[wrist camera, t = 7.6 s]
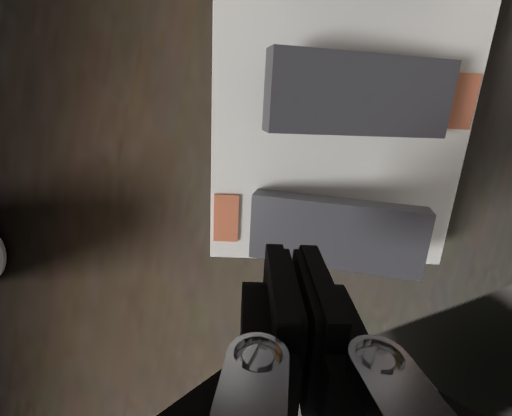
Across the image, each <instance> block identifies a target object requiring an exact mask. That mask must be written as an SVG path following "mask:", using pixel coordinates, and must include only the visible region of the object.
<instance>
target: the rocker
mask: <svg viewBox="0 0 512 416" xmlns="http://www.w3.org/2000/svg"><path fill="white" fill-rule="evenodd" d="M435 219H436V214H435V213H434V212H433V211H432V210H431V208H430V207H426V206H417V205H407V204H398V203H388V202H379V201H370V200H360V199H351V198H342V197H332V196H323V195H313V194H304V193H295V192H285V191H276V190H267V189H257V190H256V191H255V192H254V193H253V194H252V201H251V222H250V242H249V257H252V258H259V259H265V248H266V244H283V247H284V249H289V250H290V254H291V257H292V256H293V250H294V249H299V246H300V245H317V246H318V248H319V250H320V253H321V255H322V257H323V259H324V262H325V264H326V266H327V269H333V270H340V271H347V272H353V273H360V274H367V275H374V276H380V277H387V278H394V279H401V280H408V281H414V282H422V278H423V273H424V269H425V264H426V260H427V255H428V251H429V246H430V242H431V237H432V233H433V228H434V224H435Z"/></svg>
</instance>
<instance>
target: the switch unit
mask: <svg viewBox="0 0 512 416" xmlns="http://www.w3.org/2000/svg"><path fill="white" fill-rule="evenodd" d="M500 5H501V0H213V36H212V132H211V228H210V257H239V258H252V257H249V242H250V222H251V201H252V194H253V193H254V192H255V191H256V190H257V189H267V190H276V191H285V192H295V193H304V194H313V195H323V196H332V197H342V198H351V199H360V200H370V201H379V202H388V203H398V204H407V205H417V206H426V207H430V208H431V210H432V211H433V212H434V213H435V214H436V219H435V224H434V228H433V233H432V237H431V242H430V246H429V251H428V255H427V260H426V264H439V263H440V259H441V255H442V251H443V246H444V242H445V238H446V234H447V229H448V225H449V221H450V217H451V212H452V208H453V204H454V200H455V195H456V191H457V187H458V183H459V179H460V174H461V170H462V166H463V162H464V157H465V153H466V149H467V145H468V140H469V136H470V132H471V128H472V123H473V119H474V115H475V111H476V106H477V102H478V98H479V94H480V89H481V85H482V81H483V77H484V72H485V68H486V64H487V60H488V56H489V51H490V47H491V43H492V39H493V34H494V30H495V26H496V22H497V17H498V13H499V9H500ZM273 44H280V45H292V46H304V47H315V48H327V49H339V50H350V51H362V52H374V53H385V54H397V55H408V56H420V57H432V58H443V59H455V60H462V62H461V66H460V71H459V76H458V80H457V85H456V90H455V94H454V99H453V104H452V108H451V113H450V117H449V122H448V127H447V131H446V136H445V139H440V138H408V137H376V136H344V135H312V134H279V133H267V132H265V131H263V130H262V118H263V99H264V81H265V62H266V48H267V47H269V46H271V45H273Z"/></svg>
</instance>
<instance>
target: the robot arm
mask: <svg viewBox="0 0 512 416" xmlns="http://www.w3.org/2000/svg"><path fill="white" fill-rule="evenodd" d="M299 403H300V409H301V414H302V416H482V415H480V414H478V413H477V412H475V411H473V410H471V409H470V408H468V407H466V406H464V405H462V404H461V403H459V402H457V401H455V400H454V399H452V398H450V397H449V396H447V395H445V394H443V393H442V392H440V391H438V390H437V389H436V388H435V387H434V386H433V384H432V383H431V382H430V381H429V379H428V378H427V377H426V376H425V374H424V373H423V372H422V371H421V369H420V368H419V367H418V366H417V364H416V363H415V362H414V361H413V359H412V358H411V357H410V355H409V354H408V353H407V352H406V351H405V350H404V349H403V348H402V347H401V346H400V345H398V344H397V343H395V342H393V341H392V340H389V339H387V338H384V337H381V336H377V335H368V333H367V331H366V329H365V327H364V324H363V322H362V320H361V318H360V316H359V314H358V312H357V310H356V308H355V306H354V304H353V302H352V300H351V298H350V296H349V294H348V292H347V290H346V288H345V286H344V285H335V284H334V282H333V280H332V278H331V275H330V273H329V271H328V269H327V266H326V264H325V262H324V259H323V257H322V255H321V253H320V250H319V248H318V246H317V245H300V246H299V249H294V250H293V256H292V257H291V254H290V250H289V249H284V247H283V244H266V248H265V262H264V277H263V282H242V301H241V332H240V336H239V337H237V338H235V339H234V340H233V341H232V342H231V343H230V345H229V347H228V349H227V352H226V356H225V360H224V363H223V367H222V369H221V370H220V371H218V372H217V373H215V374H214V375H213V376H211V377H210V378H208V379H207V380H206V381H204V382H203V383H201V384H200V385H199V386H197V387H196V388H194V389H193V390H192V391H190V392H189V393H187V394H186V395H185V396H183V397H182V398H180V399H179V400H178V401H176V402H175V403H174V404H172V405H171V406H169V407H168V408H167V409H165V410H164V411H162V412H161V413H160V414H158V415H157V416H298V408H299Z"/></svg>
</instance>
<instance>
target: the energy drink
mask: <svg viewBox="0 0 512 416" xmlns="http://www.w3.org/2000/svg"><path fill="white" fill-rule="evenodd" d="M6 259H7V255H6V249H5V246H4V243H3V241H2V239H1V238H0V276H1V274H2V273H3V271H4V269H5V266H6Z"/></svg>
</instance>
